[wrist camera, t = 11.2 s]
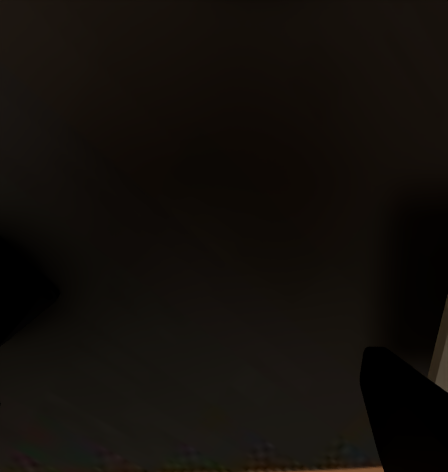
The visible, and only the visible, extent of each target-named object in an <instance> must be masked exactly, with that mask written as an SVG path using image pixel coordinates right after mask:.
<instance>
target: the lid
mask: <svg viewBox="0 0 448 472" xmlns="http://www.w3.org/2000/svg"><path fill="white" fill-rule="evenodd" d="M427 378H429V379H430V380H431V381H433V382H434V383H435V384H437V385H438V386H440V387H441V388H442V389H444V390H445V391H446V392H448V295H447V299H446V303H445V307H444V312H443V316H442V320H441V324H440V328H439V332H438V336H437V340H436V344H435V349H434V353H433V357H432V361H431V365H430V369H429V373H428V377H427Z"/></svg>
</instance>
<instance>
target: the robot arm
mask: <svg viewBox="0 0 448 472" xmlns="http://www.w3.org/2000/svg"><path fill="white" fill-rule="evenodd" d="M48 293H51V294H52V296H50V295H48ZM59 295H60V293H59V290H58V289H57V288H56V287H55V286H54V285H53V284H51V283H50V282H49V281H48V280H47V279H46V278H45V277H44V276H42V275H41V274H40V273H39V272H38V271H37V270H36V269H34V268H33V267H32V266H31V265H30V264H29V263H28V262H27V261H25V260H24V259H23V258H22V257H21V256H20V255H19V254H18V253H16V252H15V251H14V250H13V249H12V248H11V247H10V246H9V245H7V244H6V243H5V242H4V241H3V240H2V239H1V238H0V346H1V345H3V344H4V343H5V342H6V341H7V340H9V339H10V338H11V337H12V336H14V335H15V334H16V333H17V332H18V331H20V330H21V329H22V328H23V327H25V326H26V325H27V324H28V323H29V322H31V321H32V320H33V319H34V318H36V317H37V316H38V315H39V314H40V313H42V312H43V311H44V310H45V309H47V308H48V307H49V306H50V305H51V304H53V303H54V302H55V301H56V300H57V298H58V297H59ZM360 386H361V391H362V394H363V398H364V402H365V406H366V410H367V413H368V417H369V421H370V425H371V428H372V432H373V436H374V440H375V444H376V447H377V451H378V454H379V458H380V461H381V464H382V467H383V469H384V472H448V392H446V391H445V390H444V389H442V388H441V387H440V386H438V385H437V384H435V383H434V382H433V381H431V380H430V379H429V378H427V377H426V376H424V375H423V374H422V373H420V372H419V371H418V370H416V369H415V368H413V367H412V366H411V365H409V364H408V363H407V362H405V361H404V360H402V359H401V358H400V357H398V356H397V355H396V354H394V353H393V352H391V351H390V350H389V349H387V348H385V347H367V348H365V350H364V353H363V359H362V365H361V372H360ZM0 404H1V403H0Z"/></svg>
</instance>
